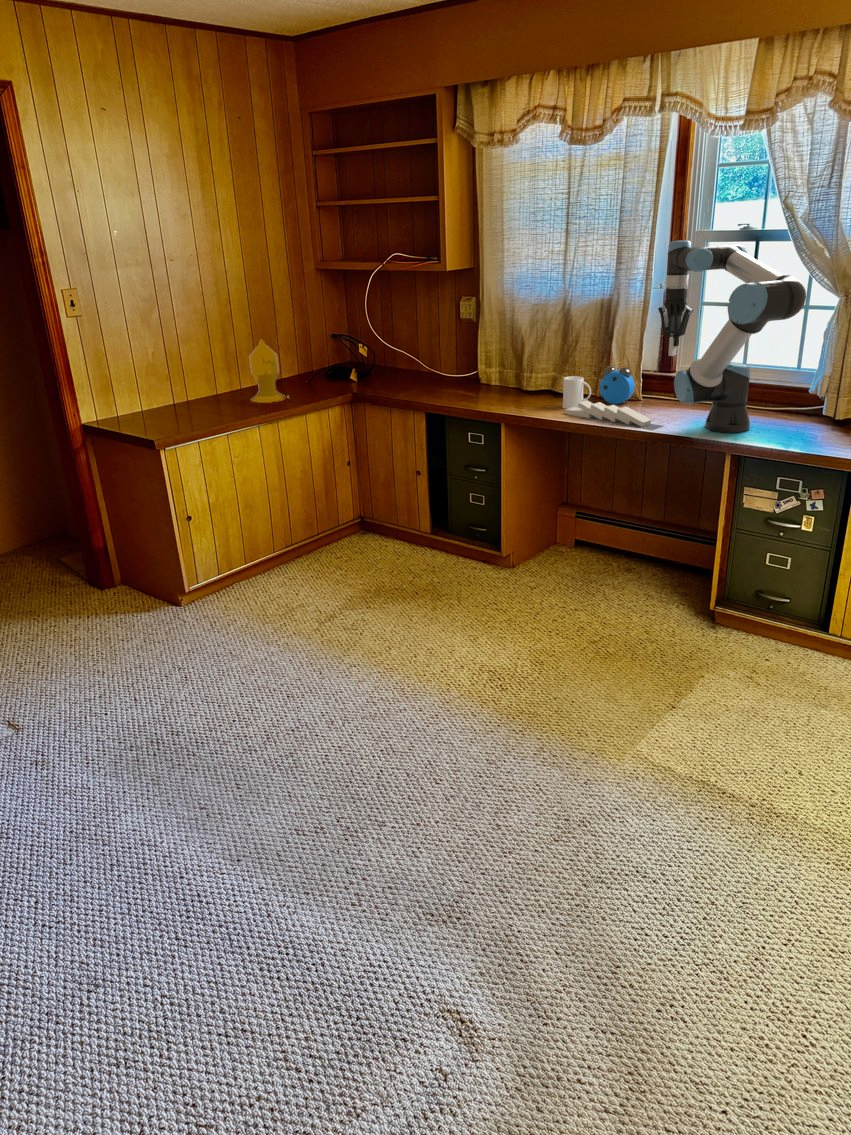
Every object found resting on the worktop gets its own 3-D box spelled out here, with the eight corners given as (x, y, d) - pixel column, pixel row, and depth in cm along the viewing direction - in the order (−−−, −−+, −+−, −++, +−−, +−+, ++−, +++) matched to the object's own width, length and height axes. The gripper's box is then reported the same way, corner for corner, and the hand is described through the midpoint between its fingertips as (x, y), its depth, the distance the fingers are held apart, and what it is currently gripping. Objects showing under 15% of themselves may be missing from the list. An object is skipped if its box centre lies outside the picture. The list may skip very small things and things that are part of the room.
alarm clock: (634, 403, 346) (636, 366, 340) (628, 406, 341) (630, 369, 335) (604, 400, 353) (606, 364, 347) (598, 403, 348) (599, 367, 343)
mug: (594, 407, 343) (595, 377, 338) (584, 411, 337) (585, 381, 332) (568, 404, 350) (569, 375, 345) (558, 408, 343) (559, 379, 339)
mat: (664, 427, 307) (664, 425, 307) (652, 431, 303) (652, 430, 302) (594, 415, 330) (594, 414, 330) (581, 418, 325) (581, 417, 325)
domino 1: (598, 411, 326) (573, 407, 335) (589, 413, 323) (565, 409, 332) (597, 415, 327) (573, 411, 335) (589, 418, 324) (565, 413, 332)
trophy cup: (289, 395, 396) (283, 334, 385) (289, 406, 374) (281, 341, 363) (252, 398, 394) (244, 337, 383) (249, 409, 372) (240, 344, 361)
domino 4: (638, 417, 313) (613, 404, 320) (629, 420, 310) (604, 407, 317) (636, 422, 314) (612, 408, 321) (628, 424, 311) (603, 411, 318)
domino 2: (610, 413, 322) (587, 400, 329) (602, 415, 319) (578, 402, 325) (609, 417, 323) (585, 404, 330) (600, 420, 320) (577, 406, 327)
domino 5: (651, 419, 309) (626, 406, 316) (643, 422, 306) (617, 408, 313) (650, 424, 310) (624, 410, 317) (641, 427, 307) (616, 413, 314)
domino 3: (623, 415, 318) (599, 402, 325) (615, 418, 315) (591, 404, 321) (622, 419, 319) (598, 406, 326) (613, 422, 316) (590, 408, 322)
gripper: (699, 286, 294) (693, 355, 303) (667, 285, 303) (662, 352, 312) (687, 288, 289) (682, 358, 299) (654, 287, 299) (651, 355, 308)
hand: (672, 355), depth 305 cm, fingers closed
